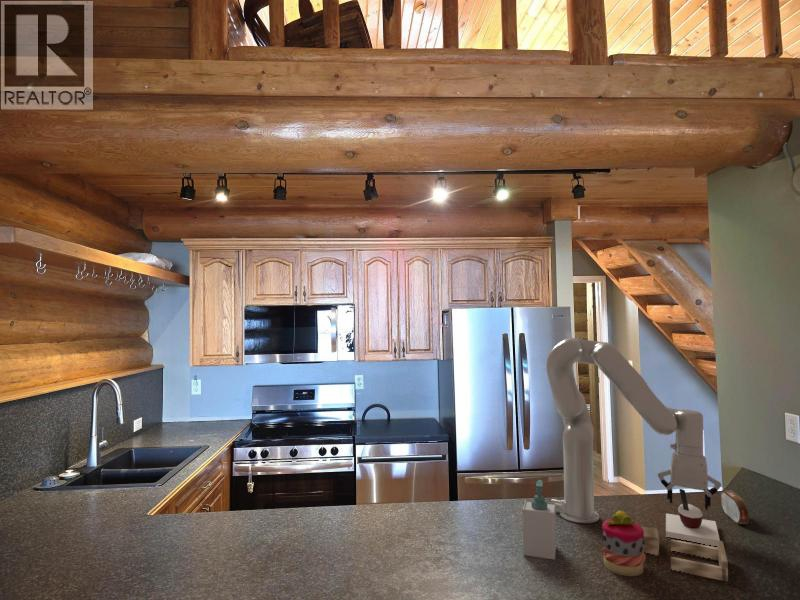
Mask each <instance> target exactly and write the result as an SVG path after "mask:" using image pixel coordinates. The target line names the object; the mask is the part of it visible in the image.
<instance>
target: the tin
mask: <svg viewBox="0 0 800 600" xmlns="http://www.w3.org/2000/svg"><path fill="white" fill-rule="evenodd" d="M720 500H721V507H722V510H723V513H725V515H726V516H727V517H730V518H729V519H731V520H732V521H733V522H734V523H735V524H737V525H745V526H746V525H748V524H749V519H750V517H749V516H750V515H749V511H748V506H747V504H746V502H745V500H744V499H743V498H742V497H741V496H740V495H738V494H737V493H735V491H733V490H732V489H729V490H725V489H724V490H721V492H720Z"/></svg>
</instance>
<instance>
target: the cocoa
mask: <svg viewBox="0 0 800 600" xmlns="http://www.w3.org/2000/svg"><path fill="white" fill-rule="evenodd" d="M679 494H680V495H679V496H680V498H681V503H682V504H680V505H679V506H678V513H679V516H680V519H681V522H682V523H683V524H684V525H685V526H686V527H689V528H698V527H699V526H700V525H701V523H702V519H703V512H702V510H701V508H699V507H696V506H695V505H694V504H693V505H692V504H691V503H688V500H687V495H686V490H685V489H682V488H679Z"/></svg>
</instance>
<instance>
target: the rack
mask: <svg viewBox="0 0 800 600" xmlns="http://www.w3.org/2000/svg"><path fill="white" fill-rule="evenodd" d="M672 551H676V552H675V553H677V552H681V553H680V554H682V553H687V554H691V555H690V556H693V555H696V556H695V557H698V556H700V557H699V558H703V557H704V558H703V559H708V558H710V560H715V561H717V562H718V565H717V564H710V563H704V562H701V561H695V560H691V559H685V558H680V557H675V556H670V570H671V569H672V570H671V571H674V570H676V571H675V572H679V571H681V572H680V573H684V572H685V573H684V574H688V573H689V575H693V574H694V576H699V577H703V578H709V579H714V580H717V581H724V582H729V569H728V568H729V566H728V565H729V563H728V558H727V553H726V548H725V546H724V541H723V540H720V541H718V547H714V546H709V545H703V544H697V543H692V542H686V541H681V540H675V539H670V552H672ZM687 554H686V555H687Z"/></svg>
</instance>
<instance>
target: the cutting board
mask: <svg viewBox="0 0 800 600" xmlns="http://www.w3.org/2000/svg"><path fill="white" fill-rule="evenodd" d="M666 537H671V538H676V539H681V540H687V541H692V542H697V543H701V544H700V545H703V544H705V545H706V546H709V545H711V547H714V546H717V548H718V541H721V540H720V534H719V531H718V526H717V522H716V521H715V520H709V519H703V518H702V523H701V525H700V526H699V527H698V528H689V527H686V526H685V525H684V524H683V523H682V522H681V519H680V515H678V514H673V513H665V538H666ZM681 540H680V541H681ZM692 542H691V543H692ZM697 543H696V544H697Z"/></svg>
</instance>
